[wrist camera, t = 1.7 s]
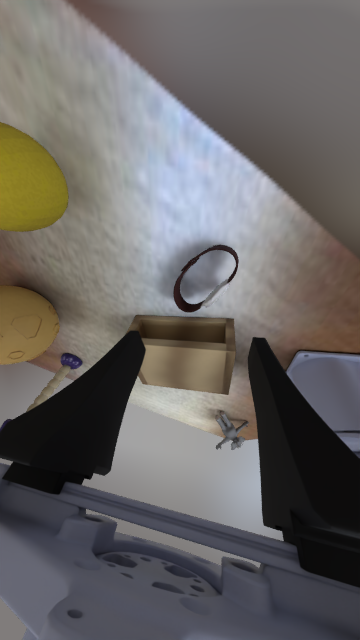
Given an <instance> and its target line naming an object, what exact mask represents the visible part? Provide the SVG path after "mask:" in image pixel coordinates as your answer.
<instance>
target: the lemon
mask: <svg viewBox="0 0 360 640" xmlns="http://www.w3.org/2000/svg"><path fill="white" fill-rule="evenodd" d="M67 205H68V188H67V184H66V181H65V178H64V175H63V173H62V171H61V169H60V168H59V166H58V165H57V163H56V162H55V160H54V159H53V157H52V156H51V155H50V154H49V153H48V152H47V151H46V149H45V148H44V147H42V146H41V145H40V144H39V143H38V142H36V141H35V140H34V139H33V138H31V137H30V136H29V135H27V134H25V133H23V132H21V131H20V130H18V129H16V128H14V127H12V126H10V125H7V124H5V123H1V122H0V229H1V230H7V231H19V232H24V231H33V230H38V229H42V228H45V227H48V226H50V225H52V224H53V223H55V222H56V221H57V220H58V219H60V218H61V217H62V215H63V214H64V212H65V210H66V208H67Z"/></svg>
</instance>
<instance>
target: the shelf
mask: <svg viewBox="0 0 360 640" xmlns="http://www.w3.org/2000/svg"><path fill="white" fill-rule="evenodd" d="M130 330H133V331H139V333H140V336H141V338H142V341H143V343H144V346H145V348H146V352H145V356H144V360H143V363H142V366H141V369H140V371H139V374H138V376H139V378H140V380H141V382H142V384H146V385H154V386H162V387H170V388H178V389H186V390H194V391H202V392H210V393H218V394H226V395H229V389H230V383H231V378H232V372H233V366H234V360H235V355H236V344H235V329H234V319H224V318H197V317H170V316H142V315H136V316H135V318H134V320H133V322H132V323H131V325H130V327H129V329H128V331H127V333H128V332H129V331H130ZM127 333H126V334H127ZM126 334H125V335H126Z"/></svg>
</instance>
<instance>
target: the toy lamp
mask: <svg viewBox="0 0 360 640" xmlns="http://www.w3.org/2000/svg"><path fill="white" fill-rule="evenodd" d="M61 364H62V365H63V366H62V367H61V368H60V370H59V372H58V373H56V374H55V376H54V378H53V379H52V380H51V381H50V382H49V383H48V385H47V387H45V388H44V389H43V390H42V392H41V394H40V395H39V396H38V397H37V398H36V399H35V401H34V403H33V404H32V405H31V406H29V408H28V409H27V411H29V410H31V409H33V408H34V407H36V406H38V405H39V404H41V403H43V402H44V401H46V400H47V399H48V397H50V396H51V395H52V393H53V392H54V389H56V388H57V387H58V386H59V384H60V382H61V381H62V380H63V379H64V378H65V375H66V374H68V373H69V371H70V369H77V368H79V367H80V366H81V365H82V361H81V360H80V359H79V358H78V357H76V356H74V355H72V354H68V353H65V354H63V355H62V357H61ZM27 411H26V412H27ZM9 421H11V419H7V420H6V421H5V422H4V423H3V425H2V427H1V428H0V431H1V429H2V428H3V427H4V426H5V424H6V423H7V422H9Z"/></svg>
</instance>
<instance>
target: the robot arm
mask: <svg viewBox="0 0 360 640" xmlns="http://www.w3.org/2000/svg"><path fill="white" fill-rule="evenodd" d="M145 352H146V348H145V346H144V343H143V341H142V338H141V336H140V333H139V331H133V330H130V331H129V332H128V333H127V334H126V335H125V336H124V337H123V338H122V339H121V340H120V341H119V342H118V343H117V344H116V345H115V346H114V347H113V348H112V349H111V350H110V351H109V352H108V353H107V354H106V355H105V356H104V357H102V358H101V359H100V360H99V361H98V362H97V363H96V364H95V365H94V366H92V367H91V368H90V369H89V370H88V371H87V372H85V373H84V374H83V375H82V376H80V377H79V378H78V379H76V380H75V381H74V382H72V383H71V384H70V385H68V386H67V387H65V388H64V389H63V390H61V391H60V392H58V393H57V394H55V395H54V396H52V397H51V398H49V399H47V400H46V401H44V402H43V403H41V404H39V405H38V406H36V407H34V408H33V409H31V410H29V411H27V412H26V413H24V414H22V415H20V416H18V417H17V418H15V419H13V420H11V421H9V422H7V423H6V424H5V426H4V427H3V428H2V429H1V431H0V458H2V459H6V460H10V461H13V463H12V464H11V465H6V464H2V463H0V598H1V599H2V600H3V602H4V603H5V604H6V605H7V606H8V607H9V608H10V609H11V610H12V611H13V613H15V615H16V616H17V617H18V618H19V619H20V620H21V621H22V622H23V623H24V625H25V626H26V627H27V629H26V632H25V634H24V637H23V639H22V640H360V355H354V354H340V353H325V352H311V351H299V352H297V353H296V355H295V357H294V359H293V360H292V362H291V364H290V366H289V367H288V369H287V371H286V372H285V370H284V369H283V367H282V366H281V364H280V363H279V361H278V360H277V358H276V356H275V355H274V353H273V351H272V350H271V348H270V346H269V344H268V342H267V340H266V339H265V338H257V337H253V339H252V343H251V347H250V351H249V355H248V371H249V379H250V384H251V390H252V396H253V401H254V407H255V412H256V420H257V431H258V443H259V457H260V474H261V495H262V515H263V523H264V526H267V527H270V528H273V529H276V530H280V531H282V533H283V539H284V541H280V540H276V539H273V538H269V537H266V536H262V535H258V534H255V533H251V532H248V531H244V530H241V529H237V528H233V527H230V526H226V525H222V524H219V523H215V522H212V521H208V520H204V519H201V518H198V517H194V516H190V515H187V514H183V513H179V512H176V511H173V510H169V509H165V508H162V507H158V506H155V505H151V504H147V503H144V502H140V501H137V500H133V499H129V498H126V497H122V496H118V495H115V494H111V493H108V492H104V491H101V490H97V489H94V488H90V487H86V486H83V485H82V483H83V480H84V478H85V479H89V480H90V479H91V478H92V476H93V473H96V474H99V475H103V476H105V475H106V474H108V473H109V472H110V470H111V466H112V461H113V456H114V451H115V447H116V443H117V438H118V434H119V430H120V426H121V422H122V419H123V415H124V412H125V408H126V405H127V402H128V399H129V396H130V393H131V391H132V388H133V386H134V384H135V381H136V379H137V376H138V374H139V371H140V369H141V366H142V363H143V360H144V356H145ZM86 509H89V510H92V511H95V512H98V513H102V514H105V515H108V516H111V517H114V518H118V519H121V520H124V521H128V522H131V523H134V524H137V525H140V526H144V527H147V528H150V529H153V530H157V531H160V532H163V533H166V534H170V535H173V536H176V537H179V538H182V539H185V540H189V541H192V542H196V543H198V544H202V545H205V546H208V547H211V548H215V549H218V550H221V551H224V552H228V553H231V554H234V555H237V556H240V557H244V558H247V559H250V560H253V561H256V562H260V563H261V565H260V567H259V568H258V567H256V566H255V565H253V564H252V563H249V562H247V561H243V560H239V559H234V558H229V557H222V566H221V565H218V564H216V563H213V562H210V561H208V560H206V559H203V558H201V557H198V556H196V555H193V554H191V553H188V552H185V551H183V550H180V549H177V548H174V547H171V546H168V545H164V544H161V543H157V542H153V541H150V540H146V539H142V538H138V537H134V536H130V535H126V534H122V533H118V532H115V530H116V527H117V522H115V521H114V520H112V519H110V518H108V517H105V516H101V515H92V514H86Z"/></svg>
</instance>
